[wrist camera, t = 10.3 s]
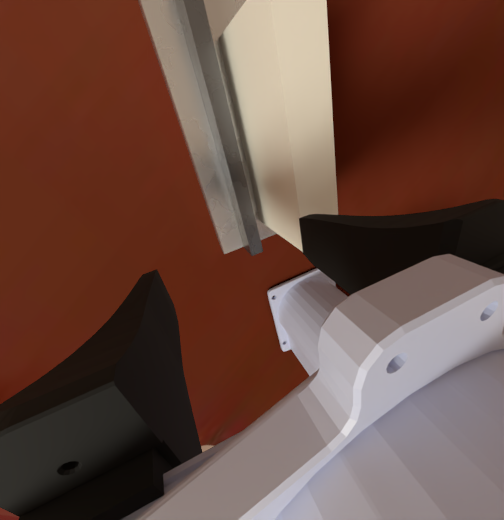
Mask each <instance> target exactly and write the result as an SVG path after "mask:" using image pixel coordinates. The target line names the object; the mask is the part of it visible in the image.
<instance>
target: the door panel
mask: <svg viewBox="0 0 504 520" xmlns="http://www.w3.org/2000/svg"><path fill="white" fill-rule="evenodd" d="M218 39H219V43H220V47H221V52H222V56H223V60H224V65H225V69H226V74H227V78H228V82H229V87H230V91H231V95H232V100H233V104H234V109H235V113H236V117H237V122H238V126H239V131H240V135H241V139H242V144H243V148H244V152H245V157H246V161H247V166H248V170H249V174H250V179H251V183H252V187H253V192H254V196H255V201H256V205H257V209H258V214H259V218H260V222H262V223H263V224H265V225H266V226H267V227H269V228H270V229H272V230H273V231H274V232H276V233H277V234H279V235H280V236H281V237H283V238H284V239H286V240H287V241H288V242H290V243H291V244H293V245H294V246H295V247H297V248H298V249H300V250H301V251H302V252H303V249H302V241H301V232H300V224H299V218H301V217H304V216H307V215H309V214H332V215H338V204H337V186H336V167H335V149H334V130H333V112H332V93H331V75H330V57H329V38H328V20H327V1H326V0H246V1H245V3H244V4H243V5H242V7H241V8H240V9H239V11H238V12H237V14H236V15H235V16H234V18H233V19H232V20H231V22H230V23H229V25H228V26H227V27H226V29H225V30H224V32H223V33H222V34H221V36H220V37H219V38H218Z"/></svg>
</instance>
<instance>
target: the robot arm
mask: <svg viewBox="0 0 504 520" xmlns="http://www.w3.org/2000/svg"><path fill="white" fill-rule="evenodd" d="M299 224H300V232H301V241H302V249H303V254H304V255H305V256H306V257H307V258H308V260H309V261H310V262H311V263H312V264H313V265H314V266H315V267H317V268H316V269H314V270H311V271H309V272H307V273H305V274H302V275H300V276H298V277H296V278H293V279H291V280H289V281H287V282H284V283H282V284H280V285H278V286H275V287H273V288H271V289H269V290H268V292H267V294H268V298H269V302H270V306H271V310H272V314H273V318H274V322H275V326H276V330H277V334H278V338H279V342H280V346H281V349H282V350H283V351H288V350H290V349H291V350H292V351H293V352H294V354H295V355H296V357H297V358H298V360H299V361H300V363H301V364H302V365H303V367H304V368H305V370H306V371H307V373H308V374H309V377H308V378H307V379H306V380H305V381H303V382H302V383H301V384H300V385H298V386H297V387H296V388H295V389H294V390H292V391H291V392H290V393H289V394H287V395H286V396H285V397H284V398H283V399H281V400H280V401H279V402H278V403H276V404H275V405H274V406H273V407H272V408H270V409H269V410H268V411H267V412H265V413H264V414H263V415H262V416H261V417H259V418H258V419H257V420H256V421H254V422H253V423H252V424H251V425H250V426H248V427H247V428H246V429H245V430H243V431H241V432H239V433H238V434H236V435H234V436H232V437H230V438H228V439H227V440H225V441H223V442H221V443H219V444H217V445H216V446H214V447H212V448H210V449H208V450H207V451H205V452H203V453H202V449H201V445H200V441H199V437H198V433H197V429H196V425H195V421H194V417H193V413H192V408H191V404H190V400H189V395H188V391H187V386H186V382H185V377H184V372H183V365H182V356H181V346H180V335H179V326H178V320H177V315H176V312H175V308H174V304H173V302H172V300H171V298H170V296H169V294H168V292H167V290H166V288H165V285H164V283H163V281H162V279H161V277H160V275H159V273H158V271H157V270H154V271H151V272H149V273H146V274H143V275H142V276H141V278H140V279H139V280H138V282H137V283H136V285H135V286H134V288H133V289H132V291H131V292H130V293H129V295H128V296H127V298H126V299H125V300H124V302H123V303H122V304H121V305H120V307H119V308H118V309H117V311H116V312H115V313H114V314H113V315H112V317H111V318H110V319H109V320H108V321H107V322H106V323H105V324H104V325H103V326H102V327H101V328H100V329H99V330H98V331H97V332H96V333H95V334H94V335H93V336H92V337H91V338H90V339H89V340H88V341H87V342H85V343H84V344H83V345H82V346H81V347H80V348H79V349H77V350H76V351H75V352H74V353H73V354H72V355H70V356H69V357H68V358H67V359H65V360H64V361H63V362H61V363H60V364H59V365H58V366H56V367H55V368H53V369H52V370H51V371H49V372H48V373H47V374H45V375H44V376H42V377H41V378H40V379H38V380H37V381H35V382H34V383H32V384H31V385H29V386H28V387H26V388H25V389H23V390H22V391H20V392H19V393H17V394H16V395H14V396H13V397H11V398H10V399H8V400H6V401H5V402H3V403H2V404H0V507H1V508H3V509H5V510H7V511H9V512H11V513H13V514H15V515H17V516H19V517H20V518H19V520H504V200H499V199H489V200H483V201H479V202H475V203H470V204H466V205H462V206H457V207H453V208H447V209H442V210H436V211H430V212H423V213H415V214H406V215H394V216H348V215H332V214H309V215H307V216H304V217H301V218H299ZM336 283H337V284H338V285H339V286H341V287H342V288H343V289H344V290H346V291H347V292H348V293H349V294H350V296H349V297H348V296H347V295H345V294H344V293H343V292H341V291H340V290H339V289H338V288H336ZM273 296H274V297H273ZM272 297H273V298H272ZM284 341H285V342H284Z"/></svg>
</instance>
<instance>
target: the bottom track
mask: <svg viewBox="0 0 504 520" xmlns="http://www.w3.org/2000/svg"><path fill="white" fill-rule="evenodd" d="M245 1H246V0H138V2H139V5H140V8H141V11H142V14H143V17H144V20H145V23H146V26H147V29H148V32H149V35H150V38H151V41H152V44H153V47H154V50H155V53H156V56H157V59H158V62H159V65H160V68H161V71H162V74H163V77H164V80H165V83H166V86H167V89H168V92H169V95H170V98H171V101H172V104H173V107H174V110H175V113H176V116H177V119H178V122H179V125H180V128H181V131H182V133H183V136H184V139H185V142H186V145H187V148H188V151H189V154H190V157H191V160H192V163H193V166H194V169H195V172H196V175H197V178H198V181H199V184H200V187H201V190H202V193H203V196H204V199H205V202H206V205H207V208H208V211H209V214H210V217H211V220H212V223H213V226H214V229H215V232H216V235H217V238H218V241H219V244H220V247H221V250H222V251H223V253H224V254H226V253H229V252H231V251H234V250H236V249H239V248H241V247H244V248H245V249H246V250H247V251H248V252H249V253H250V254H251V256H253V255H255V254H258V253H260V252H263V249H262V244H261V240H262V239H264V238H267V237H269V236H272V235H274V234H277V233H276V232H274V231H273V230H272V229H270V228H269V227H267V226H266V225H265V224H263V223H262V222H260V218H259V214H258V209H257V205H256V201H255V196H254V192H253V187H252V183H251V179H250V174H249V170H248V166H247V161H246V157H245V152H244V148H243V144H242V139H241V135H240V131H239V126H238V122H237V117H236V113H235V109H234V104H233V100H232V95H231V91H230V87H229V82H228V78H227V74H226V69H225V65H224V60H223V56H222V52H221V47H220V43H219V39H218V38H219V37H220V36H221V34H222V33H223V32H224V30H225V29H226V27H227V26H228V25H229V23H230V22H231V20H232V19H233V18H234V16H235V15H236V14H237V12H238V11H239V9H240V8H241V7H242V5H243V4H244V3H245Z"/></svg>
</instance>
